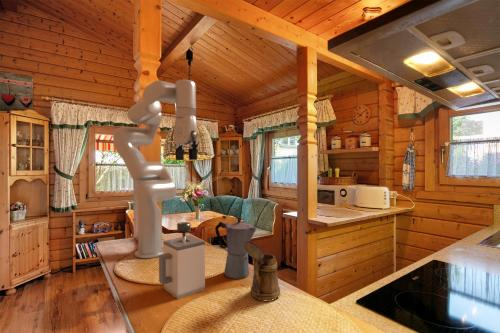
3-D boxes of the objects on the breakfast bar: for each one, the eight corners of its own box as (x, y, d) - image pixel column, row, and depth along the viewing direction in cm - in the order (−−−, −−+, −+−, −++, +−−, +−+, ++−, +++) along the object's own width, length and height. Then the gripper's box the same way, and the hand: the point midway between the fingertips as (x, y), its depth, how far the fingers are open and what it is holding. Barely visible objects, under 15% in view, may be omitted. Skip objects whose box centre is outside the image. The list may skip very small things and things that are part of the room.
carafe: (154, 291, 86) (154, 242, 85) (189, 280, 94) (189, 235, 94) (168, 302, 79) (167, 249, 79) (205, 289, 87) (204, 241, 87)
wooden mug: (235, 302, 79) (235, 238, 78) (260, 285, 90) (260, 229, 90) (262, 312, 74) (262, 244, 74) (285, 292, 85) (285, 233, 85)
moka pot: (254, 281, 92) (254, 221, 92) (210, 278, 95) (209, 219, 95) (259, 270, 102) (259, 215, 101) (218, 267, 105) (218, 214, 104)
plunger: (170, 273, 87) (170, 223, 87) (187, 268, 91) (187, 220, 91) (180, 279, 83) (179, 226, 83) (197, 274, 87) (197, 223, 87)
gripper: (165, 116, 109) (166, 160, 109) (188, 109, 96) (189, 159, 96) (183, 118, 114) (183, 160, 114) (207, 112, 101) (207, 159, 101)
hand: (186, 159), depth 105 cm, fingers open, 9 cm apart
